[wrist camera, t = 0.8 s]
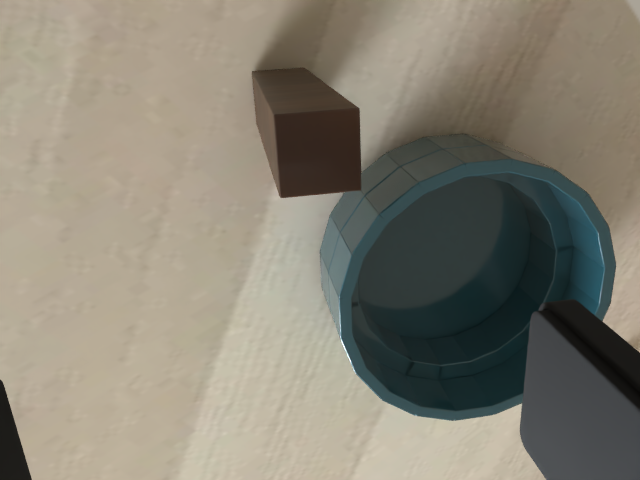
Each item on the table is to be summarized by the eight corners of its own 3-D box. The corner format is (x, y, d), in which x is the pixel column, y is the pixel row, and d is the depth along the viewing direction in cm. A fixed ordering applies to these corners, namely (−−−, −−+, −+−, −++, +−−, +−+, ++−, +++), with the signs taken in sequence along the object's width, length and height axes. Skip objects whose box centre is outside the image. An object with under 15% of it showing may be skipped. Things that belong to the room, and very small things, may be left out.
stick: (251, 71, 28) (273, 114, 17) (304, 67, 28) (359, 107, 17) (256, 124, 29) (280, 198, 18) (307, 120, 29) (361, 190, 18)
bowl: (312, 143, 30) (333, 175, 24) (561, 122, 31) (634, 147, 26) (324, 368, 35) (344, 437, 29) (539, 340, 36) (596, 400, 31)
